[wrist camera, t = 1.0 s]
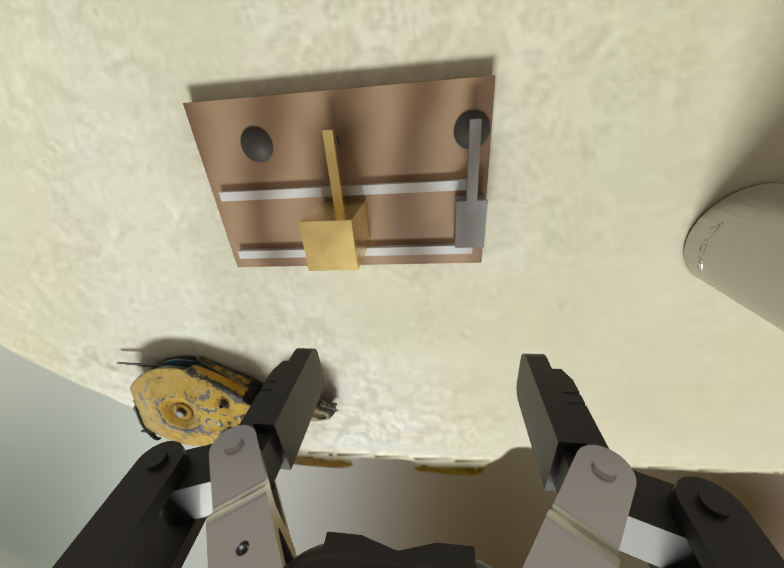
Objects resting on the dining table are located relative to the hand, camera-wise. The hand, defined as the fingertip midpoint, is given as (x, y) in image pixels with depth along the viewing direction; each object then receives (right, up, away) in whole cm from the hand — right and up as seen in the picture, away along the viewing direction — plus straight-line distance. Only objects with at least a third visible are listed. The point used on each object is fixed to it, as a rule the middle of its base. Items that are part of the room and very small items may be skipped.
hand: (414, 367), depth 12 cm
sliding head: (-5, +12, +15) cm, 20 cm away
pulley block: (-23, -12, +33) cm, 42 cm away
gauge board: (-5, +12, +17) cm, 21 cm away
